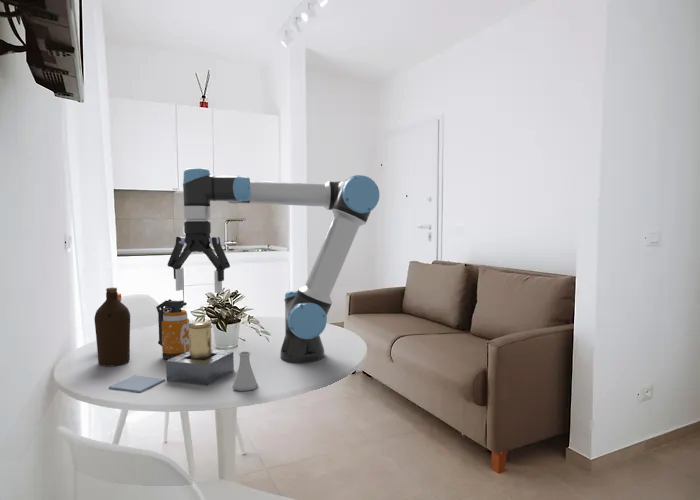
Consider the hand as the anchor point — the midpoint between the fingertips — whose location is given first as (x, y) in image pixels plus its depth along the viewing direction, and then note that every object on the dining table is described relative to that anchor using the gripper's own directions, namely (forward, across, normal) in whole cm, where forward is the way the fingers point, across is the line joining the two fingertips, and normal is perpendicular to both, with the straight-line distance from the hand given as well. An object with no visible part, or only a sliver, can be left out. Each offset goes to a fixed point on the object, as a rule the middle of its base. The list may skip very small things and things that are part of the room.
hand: (198, 291), depth 139 cm
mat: (+26, +13, +12) cm, 31 cm away
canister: (+26, +21, -14) cm, 36 cm away
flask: (+26, -18, +5) cm, 32 cm away
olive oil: (+26, +36, -3) cm, 45 cm away
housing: (+26, 0, 0) cm, 26 cm away
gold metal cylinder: (+26, 0, 0) cm, 26 cm away
